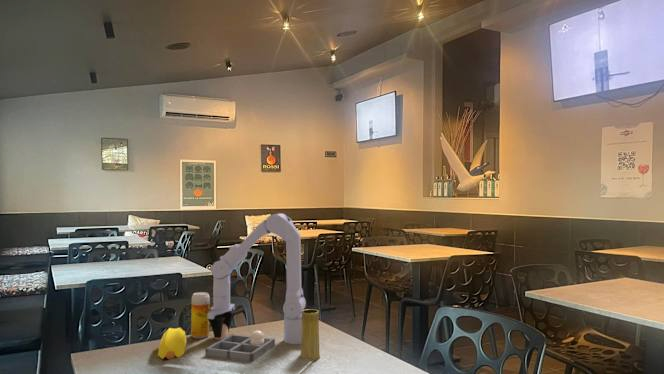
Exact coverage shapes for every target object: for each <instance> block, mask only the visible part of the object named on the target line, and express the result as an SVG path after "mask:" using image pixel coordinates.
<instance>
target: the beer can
mask: <svg viewBox="0 0 664 374" xmlns="http://www.w3.org/2000/svg"><path fill="white" fill-rule="evenodd" d="M210 298H211V297H210V294H209V293H208V292H205V291H200V292H194V293H193V294H192V295H191V310H190V312H191V313H190V314H191V317H190V318H191V319H190V320H191V321H190V323H191V324H190V325H191V327H190V332H191V333H190V335H191V336H192V338H193V339H196V340H197V339H199V340H201V339H206V338H208V336H209V334H210V322H209V321H208V313H209V312H210Z"/></svg>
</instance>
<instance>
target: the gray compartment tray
mask: <svg viewBox="0 0 664 374" xmlns="http://www.w3.org/2000/svg"><path fill="white" fill-rule="evenodd" d="M250 336H251V335H241V334H233V333H232V334H228V336H227V337H226V338H224V339H222V340H217V342H215V343H213V344H212V345H210V346H208V347H206V348H204V349H205V352H204V356H205V357H208V358H210V357H211V358H217V359H225V360H232V361H241V362H249V363H253V362H254V361H256V360H257V359H259V358H260V357H261V356H263V355H264V354H265V353H266V352H268V351H270V350H271V349H272V348H273V347H275V344H276V343H275V342H276V341H275V338H272V337H271V338H269V337H264V344H263V345H254V344H250Z"/></svg>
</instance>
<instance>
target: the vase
mask: <svg viewBox="0 0 664 374" xmlns="http://www.w3.org/2000/svg"><path fill="white" fill-rule="evenodd" d="M319 315H320V313H319V310H318V309H314V308H313V309H311V308H309V309H303V311H302V335H301V344H300V357H301V358H303V359H309V360H310V362H314V361H317V360H318V361H319V360H320V358H321V355H320V354H321V353H320V327H319V326H320V325H319V324H320V323H319V318H320V316H319Z"/></svg>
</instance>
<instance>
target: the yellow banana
mask: <svg viewBox="0 0 664 374" xmlns="http://www.w3.org/2000/svg"><path fill="white" fill-rule="evenodd" d="M187 341H188V339H187V335H186V331H185V330H184V329H183V328H182V327H176V328H173V327H169V328H168V329H167V330H165V332H164V333H163V335H162V336H161V340H160V343H159V346H158V353H157V356H158V357H159V358H160V359H162V360H165V358H166V359H168V360H171V359H173V358H175V357H177V358H180V357H182V356H183V355H184V354H185V351H186V346H187Z"/></svg>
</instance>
